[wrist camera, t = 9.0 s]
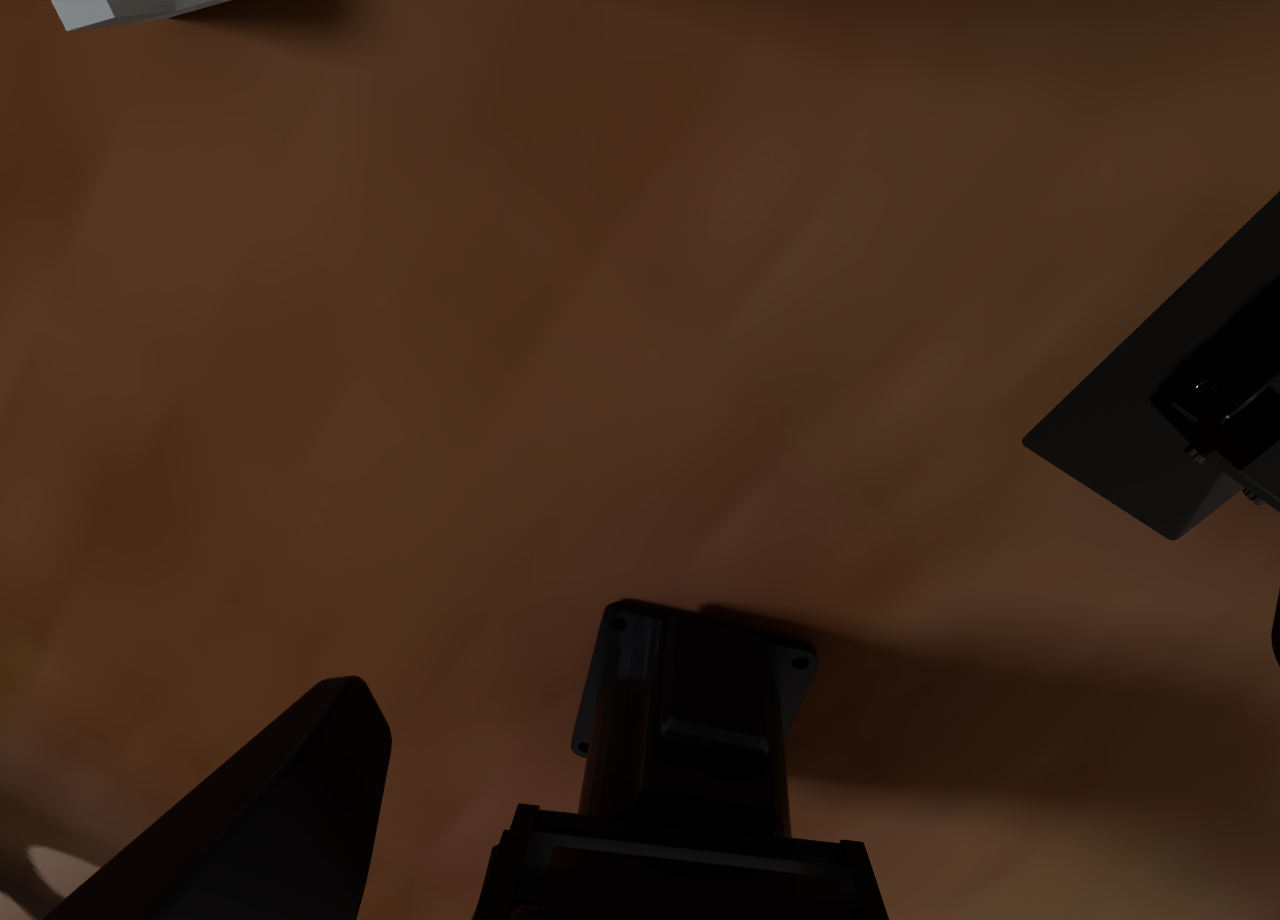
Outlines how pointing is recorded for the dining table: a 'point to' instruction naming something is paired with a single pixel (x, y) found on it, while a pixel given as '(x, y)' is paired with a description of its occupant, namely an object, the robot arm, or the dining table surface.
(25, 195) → the dining table surface
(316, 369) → the dining table surface
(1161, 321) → the black chunky block
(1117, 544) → the dining table surface
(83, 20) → the bay
